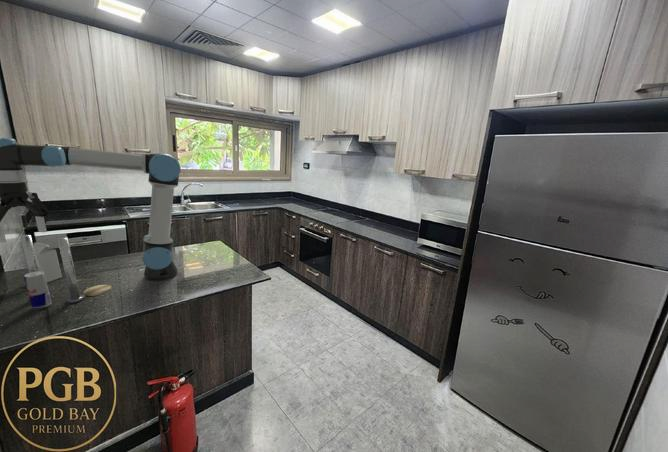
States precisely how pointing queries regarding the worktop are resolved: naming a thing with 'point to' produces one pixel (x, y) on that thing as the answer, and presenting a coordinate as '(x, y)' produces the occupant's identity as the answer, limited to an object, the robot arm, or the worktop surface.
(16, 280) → the worktop surface
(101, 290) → the coaster
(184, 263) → the worktop surface
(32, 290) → the beverage can
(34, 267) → the post
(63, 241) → the post
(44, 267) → the milk carton
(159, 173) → the robot arm
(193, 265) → the worktop surface
